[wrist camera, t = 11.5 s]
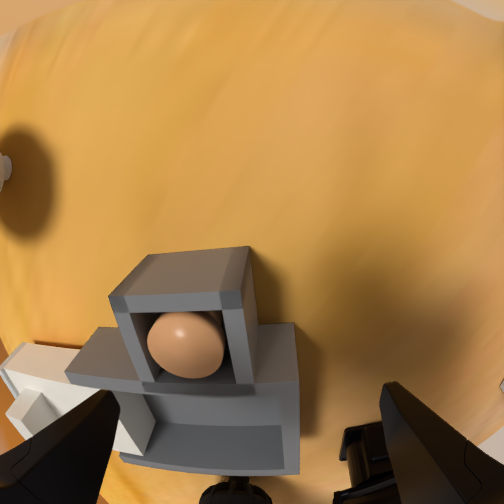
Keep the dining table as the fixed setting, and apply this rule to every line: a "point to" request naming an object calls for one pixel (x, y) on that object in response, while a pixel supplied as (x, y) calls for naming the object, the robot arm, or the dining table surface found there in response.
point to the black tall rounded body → (235, 493)
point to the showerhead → (4, 169)
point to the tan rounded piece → (188, 342)
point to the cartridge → (65, 396)
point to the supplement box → (502, 386)
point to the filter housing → (207, 388)
